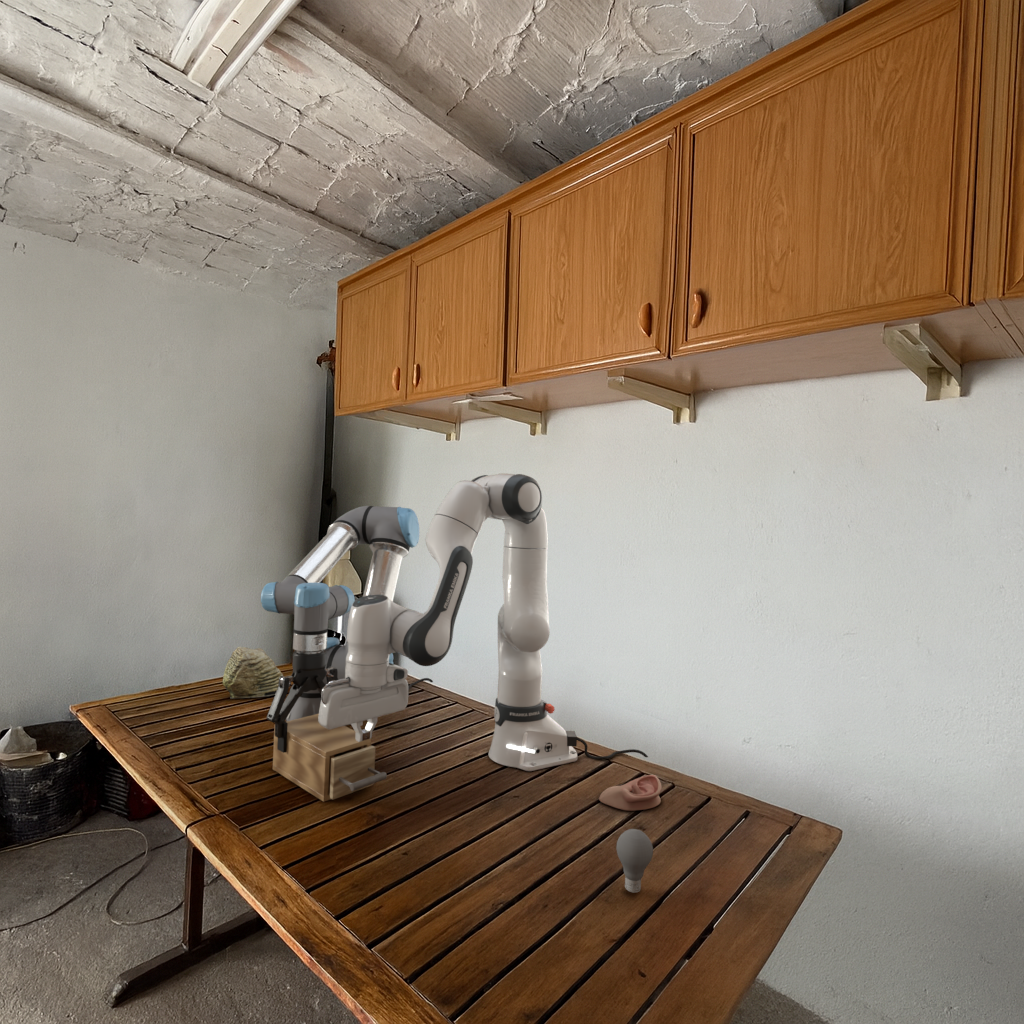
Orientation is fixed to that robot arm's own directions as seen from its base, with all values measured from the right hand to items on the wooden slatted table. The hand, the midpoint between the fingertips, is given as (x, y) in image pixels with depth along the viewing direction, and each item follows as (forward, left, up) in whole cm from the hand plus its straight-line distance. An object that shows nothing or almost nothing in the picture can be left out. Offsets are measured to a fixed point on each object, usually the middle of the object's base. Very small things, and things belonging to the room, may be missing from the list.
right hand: (363, 739), depth 132 cm
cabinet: (+7, -14, -13) cm, 21 cm away
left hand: (+10, -20, -7) cm, 23 cm away
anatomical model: (-56, +14, -13) cm, 59 cm away
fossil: (+23, -79, -13) cm, 83 cm away
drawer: (+5, -9, -12) cm, 16 cm away
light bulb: (-39, +43, -13) cm, 60 cm away
